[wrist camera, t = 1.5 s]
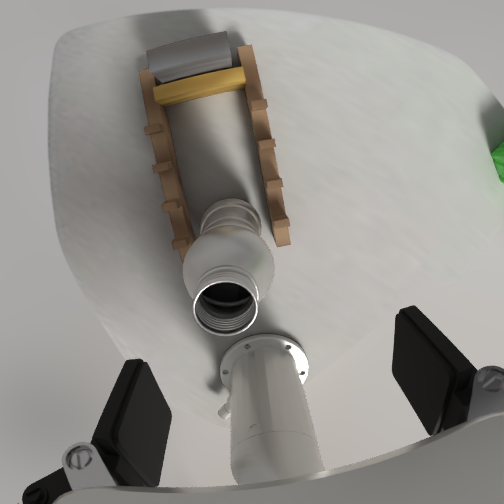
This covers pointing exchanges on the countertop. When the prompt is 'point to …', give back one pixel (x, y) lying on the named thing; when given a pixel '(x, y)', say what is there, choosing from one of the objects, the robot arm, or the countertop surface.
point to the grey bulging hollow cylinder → (228, 268)
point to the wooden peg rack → (196, 86)
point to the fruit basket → (499, 160)
